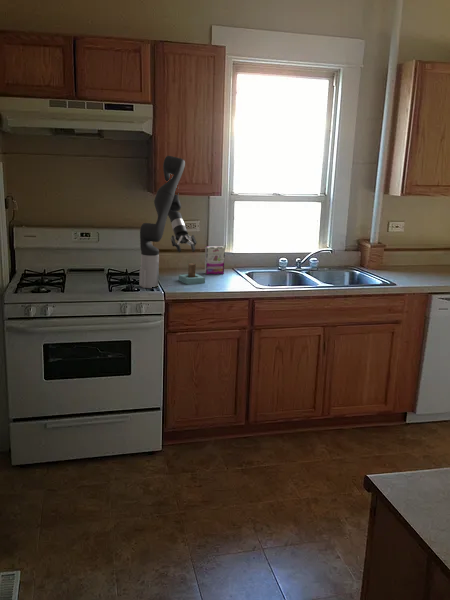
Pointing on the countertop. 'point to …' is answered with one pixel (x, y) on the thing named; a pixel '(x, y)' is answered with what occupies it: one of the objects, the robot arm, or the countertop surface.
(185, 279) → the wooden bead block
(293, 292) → the countertop surface
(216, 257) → the candy bar box
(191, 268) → the tall brown block
